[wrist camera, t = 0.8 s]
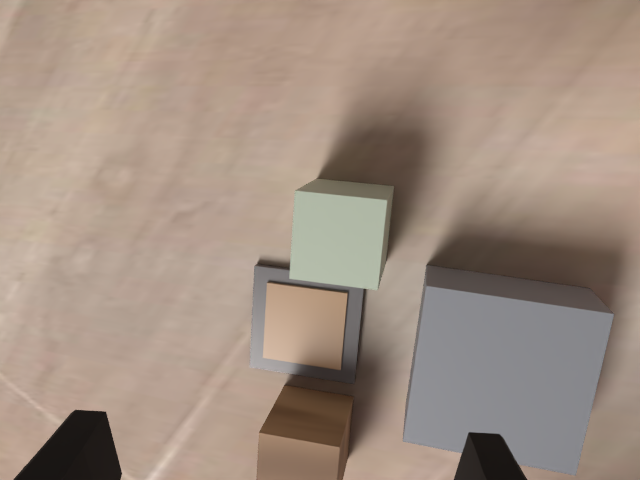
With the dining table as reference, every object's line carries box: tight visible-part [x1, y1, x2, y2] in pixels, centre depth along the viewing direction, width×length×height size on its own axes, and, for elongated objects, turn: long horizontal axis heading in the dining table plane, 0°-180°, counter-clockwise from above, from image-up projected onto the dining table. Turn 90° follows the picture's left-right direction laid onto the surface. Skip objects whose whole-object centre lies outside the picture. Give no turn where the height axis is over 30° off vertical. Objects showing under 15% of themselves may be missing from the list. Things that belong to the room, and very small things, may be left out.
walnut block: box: [256, 385, 354, 480], centre depth 29 cm, size 4×4×5 cm
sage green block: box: [289, 179, 394, 290], centre depth 26 cm, size 4×4×5 cm
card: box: [250, 264, 364, 384], centre depth 30 cm, size 6×6×1 cm
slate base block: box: [403, 265, 614, 476], centre depth 27 cm, size 8×8×4 cm
